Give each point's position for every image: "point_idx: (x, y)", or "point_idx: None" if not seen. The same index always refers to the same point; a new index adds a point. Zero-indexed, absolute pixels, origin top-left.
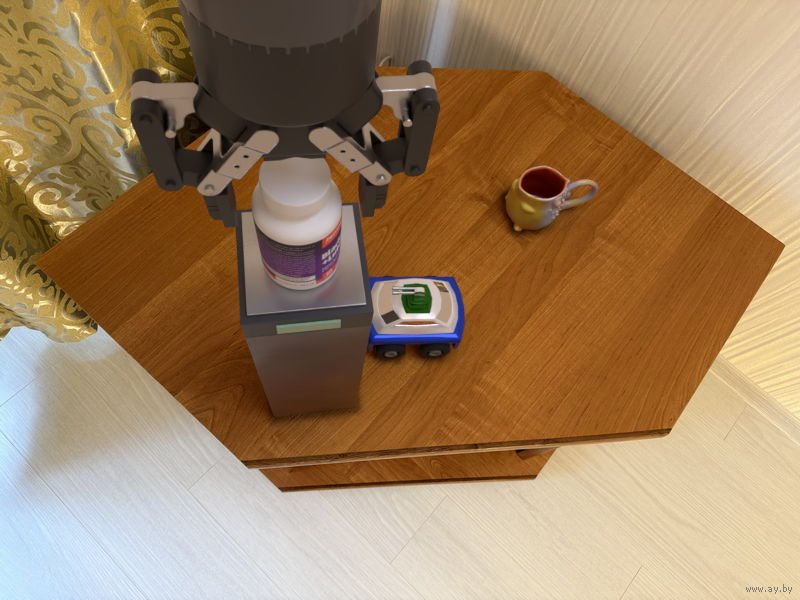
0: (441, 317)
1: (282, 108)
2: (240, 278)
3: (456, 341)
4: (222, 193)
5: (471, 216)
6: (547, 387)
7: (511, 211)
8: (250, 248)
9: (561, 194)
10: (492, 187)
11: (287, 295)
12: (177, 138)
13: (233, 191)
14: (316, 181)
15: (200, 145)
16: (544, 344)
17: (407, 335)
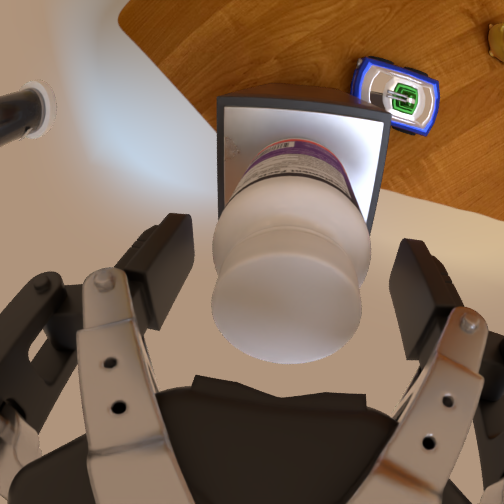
0: (419, 119)
1: None
2: (220, 194)
3: (423, 135)
4: (150, 327)
5: (461, 26)
6: (465, 177)
7: (493, 43)
8: (232, 162)
9: None
10: (481, 11)
11: None
12: (39, 329)
13: (180, 232)
14: (324, 335)
15: (83, 296)
16: (477, 148)
17: None
